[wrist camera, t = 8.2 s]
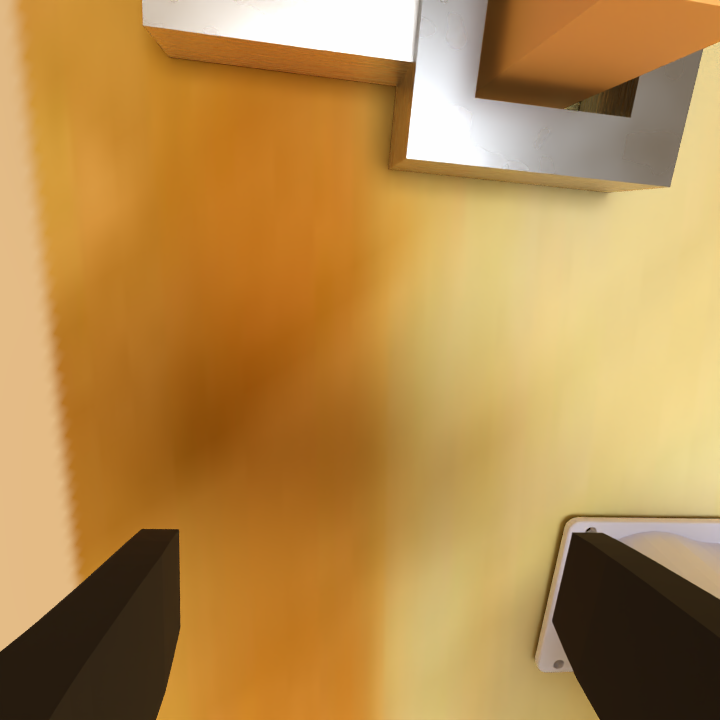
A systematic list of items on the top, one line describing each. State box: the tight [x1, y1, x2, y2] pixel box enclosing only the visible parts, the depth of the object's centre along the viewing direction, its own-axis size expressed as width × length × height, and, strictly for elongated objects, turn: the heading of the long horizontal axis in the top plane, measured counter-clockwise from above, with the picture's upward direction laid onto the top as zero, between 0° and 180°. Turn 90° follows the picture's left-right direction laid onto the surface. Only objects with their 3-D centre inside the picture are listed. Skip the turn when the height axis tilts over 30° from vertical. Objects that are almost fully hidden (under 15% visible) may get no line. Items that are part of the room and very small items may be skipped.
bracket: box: [142, 0, 703, 193], centre depth 14 cm, size 15×8×3 cm, turn 85°
